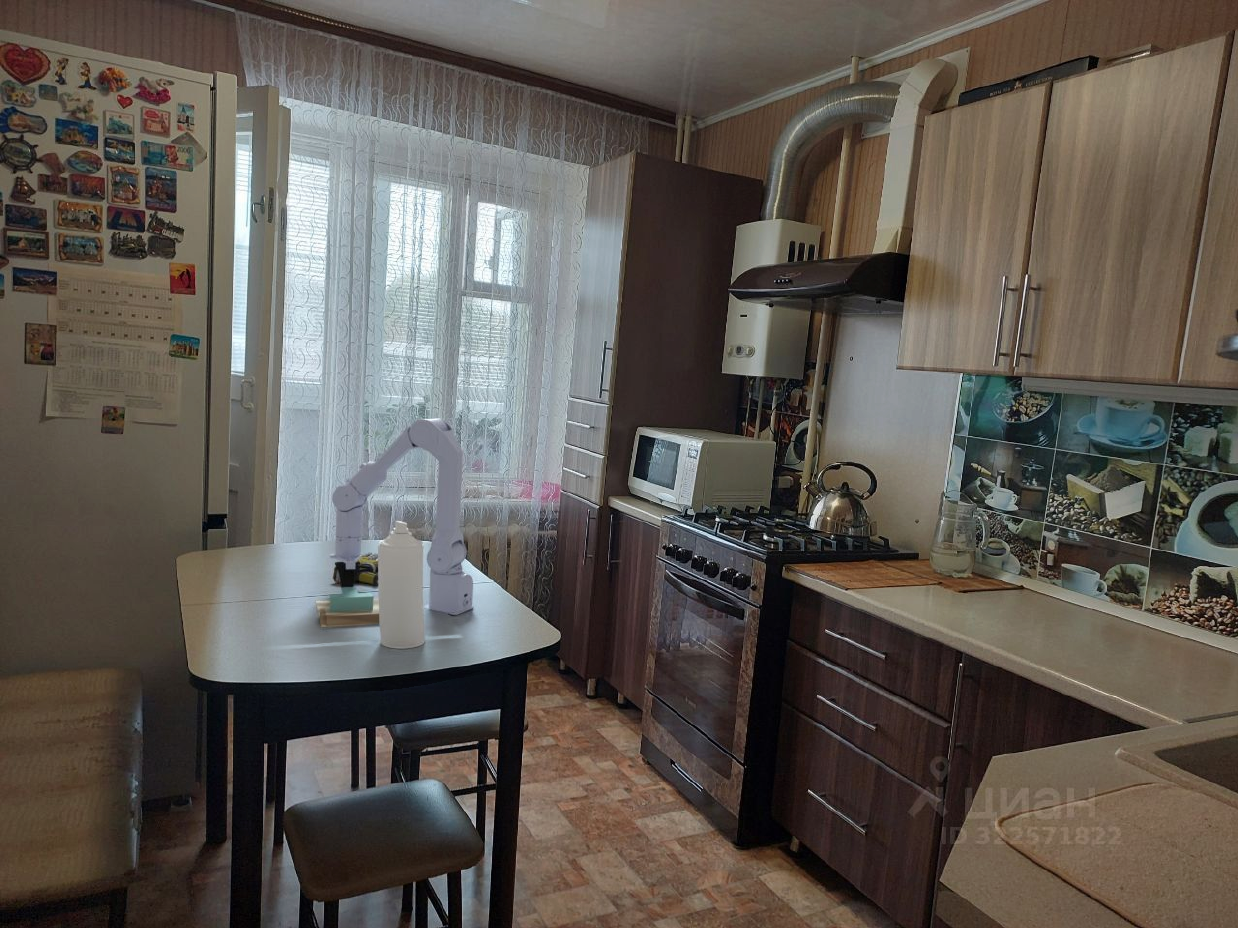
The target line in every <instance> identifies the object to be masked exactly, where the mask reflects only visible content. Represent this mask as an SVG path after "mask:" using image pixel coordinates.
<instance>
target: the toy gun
mask: <svg viewBox="0 0 1238 928" xmlns="http://www.w3.org/2000/svg"><path fill="white" fill-rule="evenodd" d="M358 561H360V564H361V567H360V569H359V571H358V573H357V575H356V578H355V582H354V585H355V584H357V585H358V584H365V583H366V584H369V585H373V587H378V553H373V552H368V553H365V554H363V555H362V557H361V558H360V559H359V560H358ZM332 579H333V581H334V582H336V583H337V584H339V585H341V584H340V577H339V573H338V570H337V568H336V566H334V568H333V576H332Z"/></svg>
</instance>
